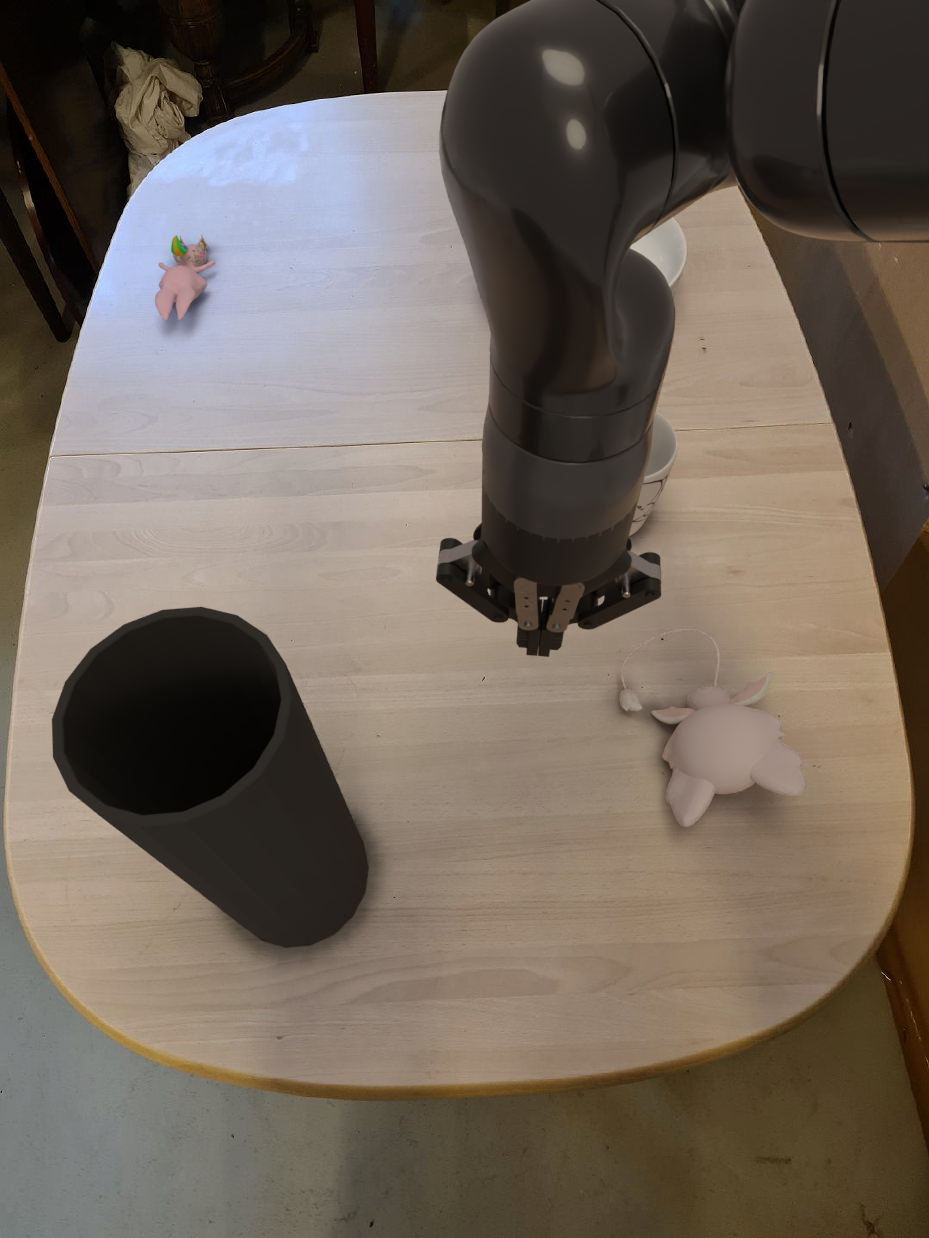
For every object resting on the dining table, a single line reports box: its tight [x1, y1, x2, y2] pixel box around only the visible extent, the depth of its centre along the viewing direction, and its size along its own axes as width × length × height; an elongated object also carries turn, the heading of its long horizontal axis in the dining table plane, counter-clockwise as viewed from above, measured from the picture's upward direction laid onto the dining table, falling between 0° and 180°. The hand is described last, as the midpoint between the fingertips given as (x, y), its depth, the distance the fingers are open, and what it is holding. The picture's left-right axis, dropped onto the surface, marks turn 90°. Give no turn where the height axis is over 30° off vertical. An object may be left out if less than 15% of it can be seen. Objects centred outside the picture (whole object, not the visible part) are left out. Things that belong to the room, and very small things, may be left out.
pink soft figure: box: [154, 234, 216, 322], centre depth 92 cm, size 6×6×15 cm
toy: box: [618, 628, 807, 828], centre depth 64 cm, size 12×8×15 cm
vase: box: [51, 606, 370, 948], centre depth 50 cm, size 10×10×30 cm
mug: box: [629, 411, 679, 537], centre depth 74 cm, size 11×8×10 cm
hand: (538, 643), depth 55 cm, fingers closed
